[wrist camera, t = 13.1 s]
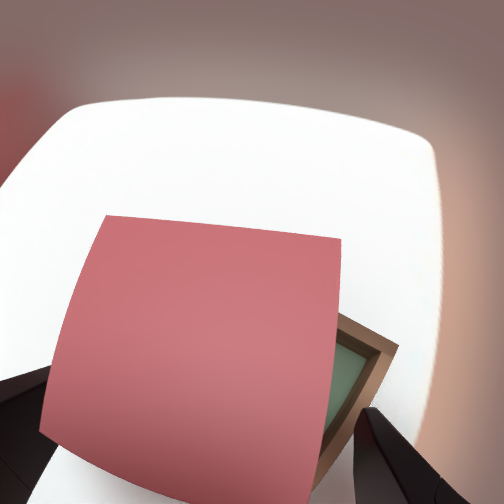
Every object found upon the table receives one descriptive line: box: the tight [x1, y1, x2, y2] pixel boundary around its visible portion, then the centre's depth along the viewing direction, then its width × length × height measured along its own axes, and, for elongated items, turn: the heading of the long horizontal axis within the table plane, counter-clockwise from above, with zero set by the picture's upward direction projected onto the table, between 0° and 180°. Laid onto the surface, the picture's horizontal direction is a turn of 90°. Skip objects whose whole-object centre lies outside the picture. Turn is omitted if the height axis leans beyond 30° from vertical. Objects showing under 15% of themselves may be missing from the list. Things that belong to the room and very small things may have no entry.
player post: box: [39, 215, 341, 504], centre depth 10 cm, size 5×5×13 cm
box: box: [311, 312, 399, 492], centre depth 15 cm, size 12×13×3 cm
